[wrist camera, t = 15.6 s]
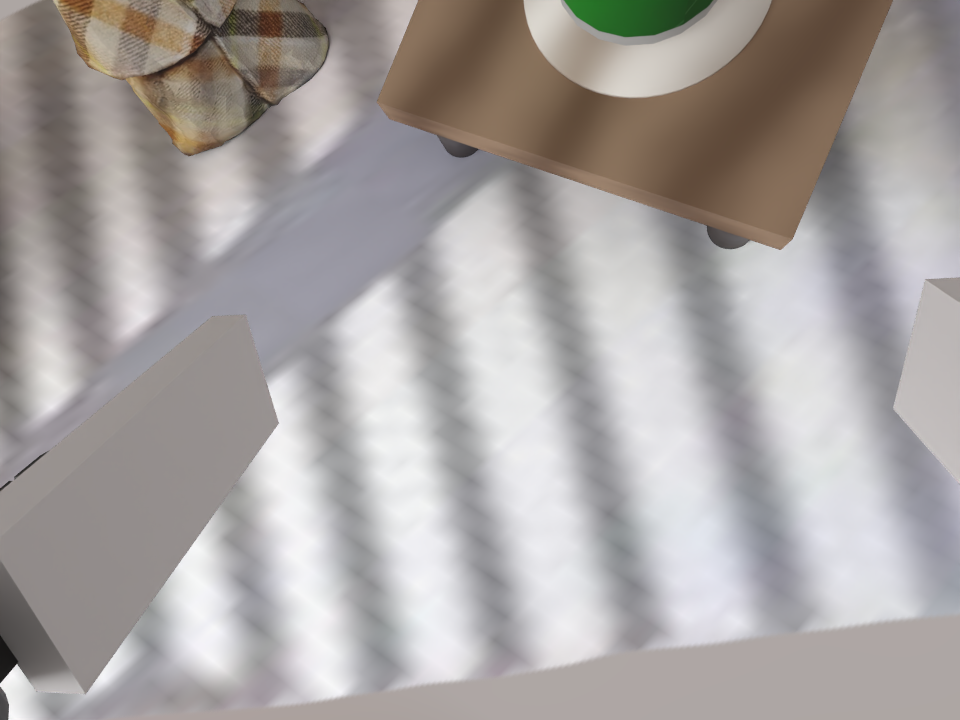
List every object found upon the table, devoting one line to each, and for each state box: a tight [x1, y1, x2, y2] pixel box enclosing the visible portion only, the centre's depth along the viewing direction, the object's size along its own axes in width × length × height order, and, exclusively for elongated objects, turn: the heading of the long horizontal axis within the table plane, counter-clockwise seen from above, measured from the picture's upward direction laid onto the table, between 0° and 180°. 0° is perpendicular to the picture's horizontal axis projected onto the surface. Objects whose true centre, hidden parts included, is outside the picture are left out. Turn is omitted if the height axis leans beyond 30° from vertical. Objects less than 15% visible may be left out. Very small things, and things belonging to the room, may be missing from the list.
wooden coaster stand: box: [377, 0, 893, 250], centre depth 31 cm, size 20×18×7 cm
